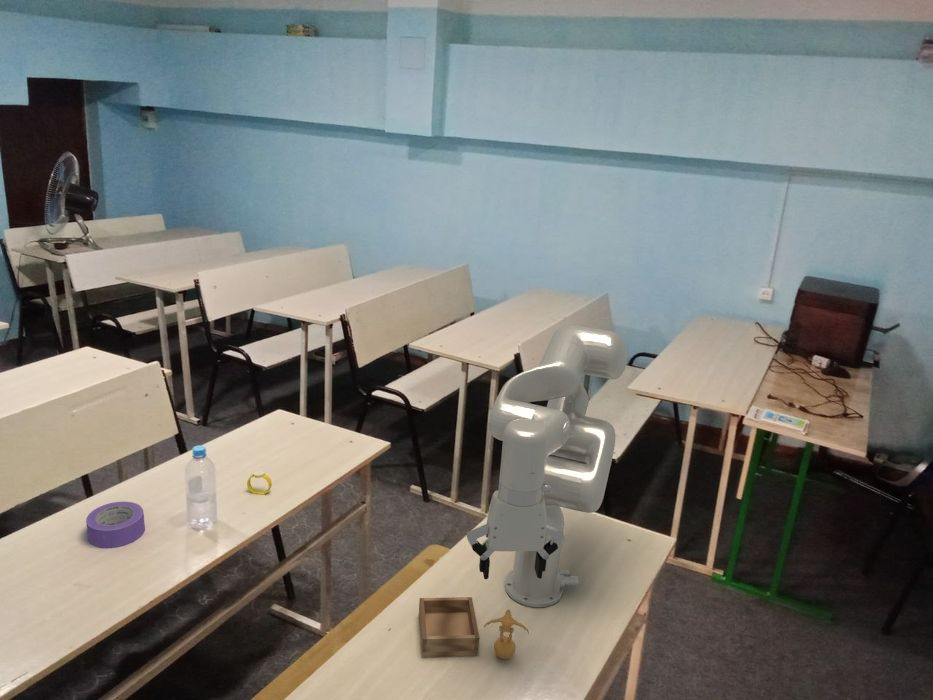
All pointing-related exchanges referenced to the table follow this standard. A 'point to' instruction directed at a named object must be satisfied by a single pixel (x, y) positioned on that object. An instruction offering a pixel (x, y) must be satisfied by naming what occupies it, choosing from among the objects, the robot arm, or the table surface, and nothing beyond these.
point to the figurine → (505, 644)
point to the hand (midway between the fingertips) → (511, 574)
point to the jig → (448, 627)
